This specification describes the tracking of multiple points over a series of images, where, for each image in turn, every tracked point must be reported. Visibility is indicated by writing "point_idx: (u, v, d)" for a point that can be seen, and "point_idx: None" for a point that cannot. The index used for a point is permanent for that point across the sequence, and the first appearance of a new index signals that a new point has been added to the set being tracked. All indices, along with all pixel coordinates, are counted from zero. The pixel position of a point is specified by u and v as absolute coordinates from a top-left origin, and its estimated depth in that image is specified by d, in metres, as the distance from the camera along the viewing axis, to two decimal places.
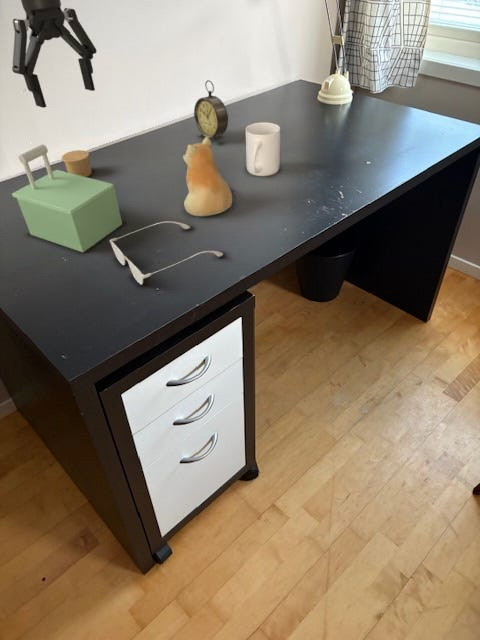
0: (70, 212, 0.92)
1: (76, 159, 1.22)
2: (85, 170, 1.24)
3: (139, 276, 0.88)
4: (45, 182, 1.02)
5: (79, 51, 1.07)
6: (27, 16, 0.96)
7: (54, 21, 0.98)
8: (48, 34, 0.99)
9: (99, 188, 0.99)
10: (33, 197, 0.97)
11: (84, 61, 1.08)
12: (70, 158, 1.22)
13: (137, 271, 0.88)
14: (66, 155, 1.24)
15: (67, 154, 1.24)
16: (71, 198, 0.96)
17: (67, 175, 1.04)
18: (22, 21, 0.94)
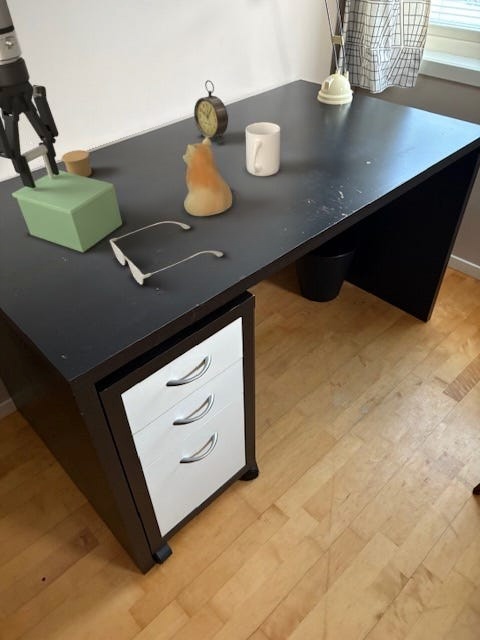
0: (70, 212, 0.92)
1: (76, 159, 1.22)
2: (85, 170, 1.24)
3: (139, 276, 0.88)
4: (45, 182, 1.02)
5: (41, 133, 0.97)
6: None
7: (23, 94, 0.89)
8: None
9: (99, 188, 0.99)
10: (33, 197, 0.97)
11: (46, 146, 0.98)
12: (70, 158, 1.22)
13: (137, 271, 0.88)
14: (66, 155, 1.24)
15: (67, 154, 1.24)
16: (71, 198, 0.96)
17: (67, 175, 1.04)
18: None
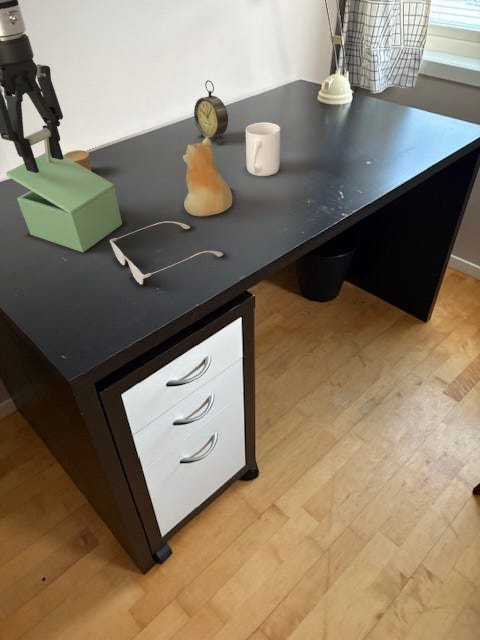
0: (70, 212, 0.92)
1: (76, 159, 1.22)
2: None
3: (139, 276, 0.88)
4: (41, 165, 0.99)
5: (45, 115, 0.93)
6: None
7: (27, 73, 0.86)
8: None
9: (99, 187, 0.98)
10: (30, 183, 0.94)
11: (50, 129, 0.95)
12: (70, 158, 1.22)
13: (137, 271, 0.88)
14: (66, 155, 1.24)
15: (67, 154, 1.24)
16: (71, 193, 0.95)
17: (65, 160, 1.02)
18: None
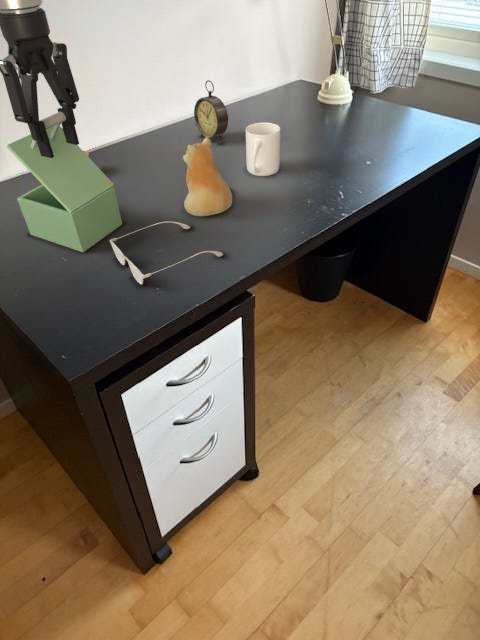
0: (70, 212, 0.92)
1: None
2: None
3: (139, 276, 0.88)
4: None
5: (61, 96, 0.88)
6: (10, 47, 0.78)
7: (43, 50, 0.81)
8: None
9: (100, 185, 0.98)
10: (32, 165, 0.91)
11: (66, 112, 0.90)
12: None
13: (137, 271, 0.88)
14: None
15: None
16: (72, 188, 0.94)
17: None
18: (8, 63, 0.77)
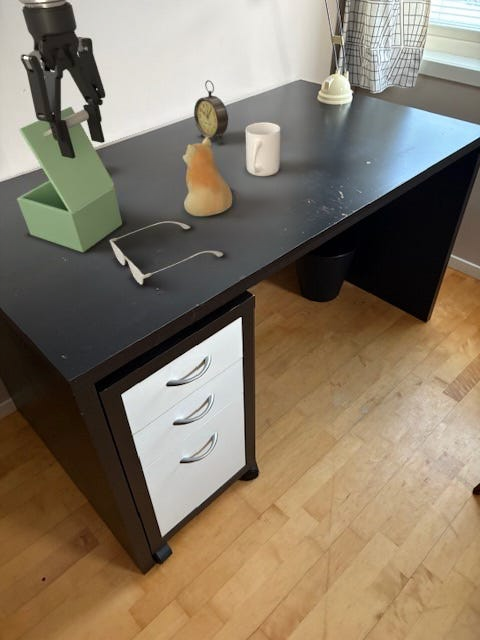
0: (70, 211, 0.92)
1: None
2: None
3: (139, 276, 0.88)
4: None
5: (87, 93, 0.85)
6: (36, 43, 0.75)
7: (69, 46, 0.77)
8: None
9: (102, 185, 0.98)
10: (42, 156, 0.88)
11: (92, 108, 0.87)
12: None
13: (137, 271, 0.88)
14: None
15: None
16: (76, 186, 0.93)
17: (80, 130, 0.94)
18: (34, 57, 0.73)
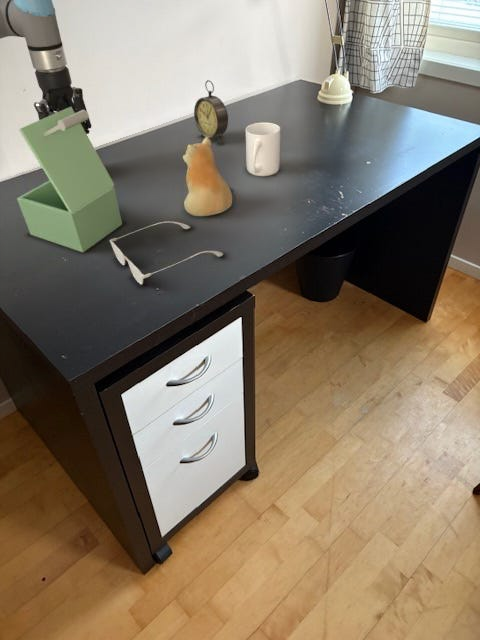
0: (70, 211, 0.92)
1: None
2: None
3: (139, 276, 0.88)
4: (57, 129, 0.90)
5: None
6: (44, 94, 1.11)
7: (66, 95, 1.13)
8: None
9: (102, 185, 0.98)
10: (42, 156, 0.88)
11: None
12: None
13: (137, 271, 0.88)
14: None
15: None
16: (76, 186, 0.93)
17: (80, 130, 0.94)
18: (43, 105, 1.09)
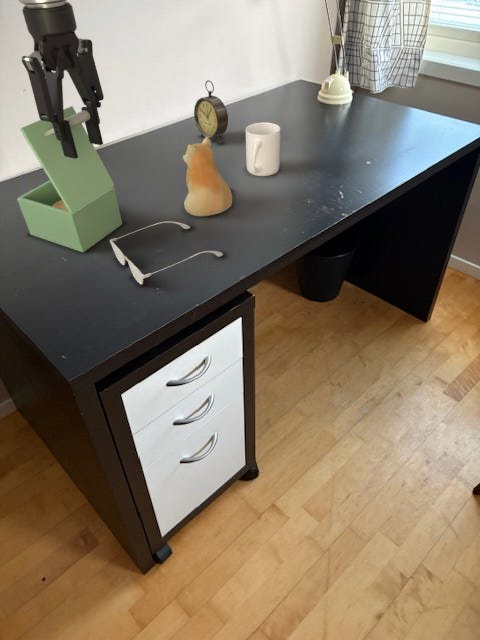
0: (70, 211, 0.92)
1: None
2: None
3: (139, 276, 0.88)
4: None
5: (85, 95, 0.85)
6: (36, 43, 0.75)
7: (69, 46, 0.77)
8: None
9: (102, 185, 0.98)
10: (42, 156, 0.88)
11: (90, 111, 0.86)
12: (62, 209, 1.01)
13: (137, 271, 0.88)
14: (57, 204, 1.02)
15: (58, 203, 1.03)
16: (76, 186, 0.93)
17: (81, 130, 0.94)
18: (34, 59, 0.73)
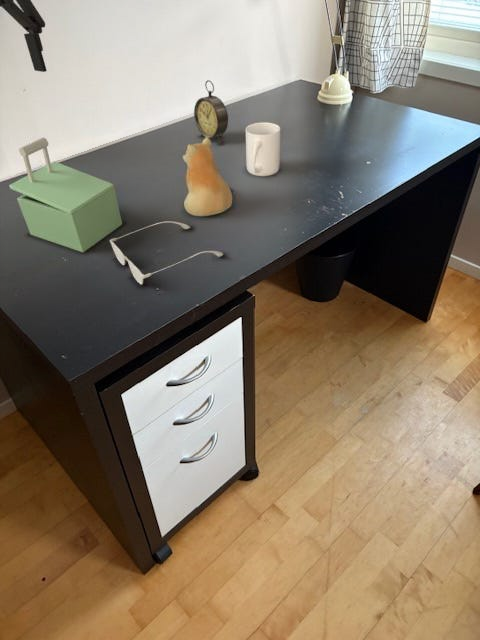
0: (70, 212, 0.92)
1: None
2: None
3: (139, 276, 0.88)
4: (43, 175, 1.01)
5: (25, 24, 0.91)
6: None
7: None
8: None
9: (99, 187, 0.99)
10: (31, 191, 0.96)
11: (32, 36, 0.92)
12: None
13: (137, 271, 0.88)
14: None
15: None
16: (71, 196, 0.96)
17: (66, 169, 1.03)
18: None
